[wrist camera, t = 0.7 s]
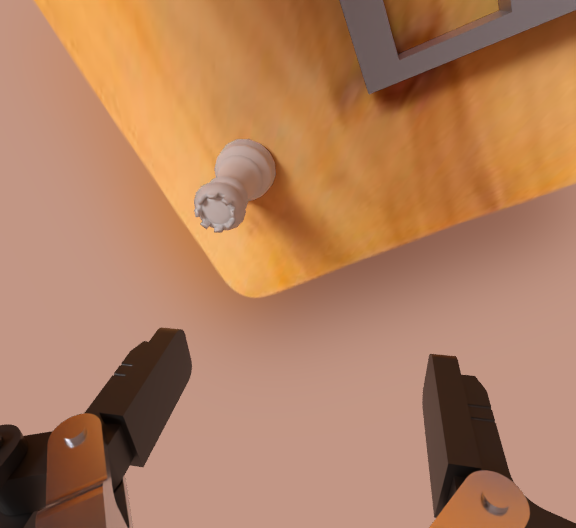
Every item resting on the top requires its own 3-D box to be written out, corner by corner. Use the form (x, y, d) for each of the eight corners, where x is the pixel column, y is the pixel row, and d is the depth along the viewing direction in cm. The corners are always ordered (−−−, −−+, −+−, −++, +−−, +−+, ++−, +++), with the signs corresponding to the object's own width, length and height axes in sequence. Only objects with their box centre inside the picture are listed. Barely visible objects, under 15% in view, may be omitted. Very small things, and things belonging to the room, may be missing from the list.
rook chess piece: (207, 158, 31) (163, 203, 24) (251, 124, 29) (216, 163, 22) (245, 203, 32) (213, 257, 26) (289, 174, 30) (266, 224, 24)
